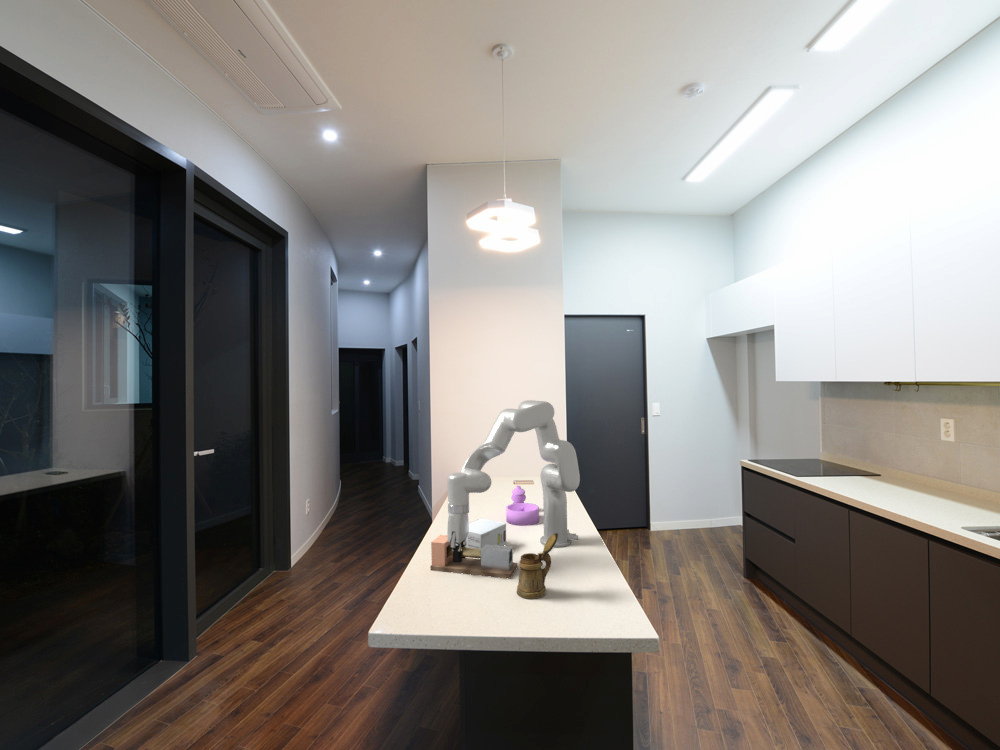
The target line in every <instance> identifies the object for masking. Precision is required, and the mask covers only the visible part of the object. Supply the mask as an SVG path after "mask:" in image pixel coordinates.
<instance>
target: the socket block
mask: <svg viewBox="0 0 1000 750" xmlns="http://www.w3.org/2000/svg"><path fill="white" fill-rule="evenodd" d="M430 545H431V546H430V547H431V565H438V566H445V565H446V564H447V563H449V562H450V561H451V560H452V559H453V556H449V555H447V546H451V542H450V543H448V542H447V534H440V535H438V536H437V537H436V538H434V539H433V540H431V542H430Z"/></svg>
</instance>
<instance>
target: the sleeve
mask: <svg viewBox="0 0 1000 750" xmlns="http://www.w3.org/2000/svg"><path fill="white" fill-rule="evenodd" d="M513 548H514V547H513V546H508V545H506V546H499V545H488V544H485V545H484V546H483V548H482V549H481V568H485V569H494V570H504V571H509V570H510V569H511V567H512V566H513V562H514V561H513V560H514V556H513V555H514V552H513Z"/></svg>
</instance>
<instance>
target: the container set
mask: <svg viewBox="0 0 1000 750" xmlns="http://www.w3.org/2000/svg"><path fill="white" fill-rule="evenodd" d="M515 487H516V488H514V489H512V491H511V500H512V501H513V502H512V503H511V504H508V505H506V508H505V511H506V514H505V516H506V518H505V519H506V520H505V521H506V524H510V525H512V526H519V527H527V526H533V525H536V524H539V522H540V507H539V506H538V505H537V504H534V503H529V502H525V501H526V499H527V496H526V490H525V489H523V488H522V486H521V485H516V486H515Z"/></svg>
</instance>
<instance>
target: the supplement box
mask: <svg viewBox="0 0 1000 750" xmlns="http://www.w3.org/2000/svg"><path fill="white" fill-rule="evenodd" d="M456 542H458V541H456ZM485 544H488V545H499V546H504V545H506V546H507V522H503V521H497V520H493V519H492V520H491V519H489V518H488V519H486V518H483V517H482V518H481V517H480V518H478V519H475V520H473V521H471V522H469V534H468V536H467V537H466V546H464V547H466V548H477V549H482V548H483V546H484V545H485ZM456 545H457V546H458V544H456Z"/></svg>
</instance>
